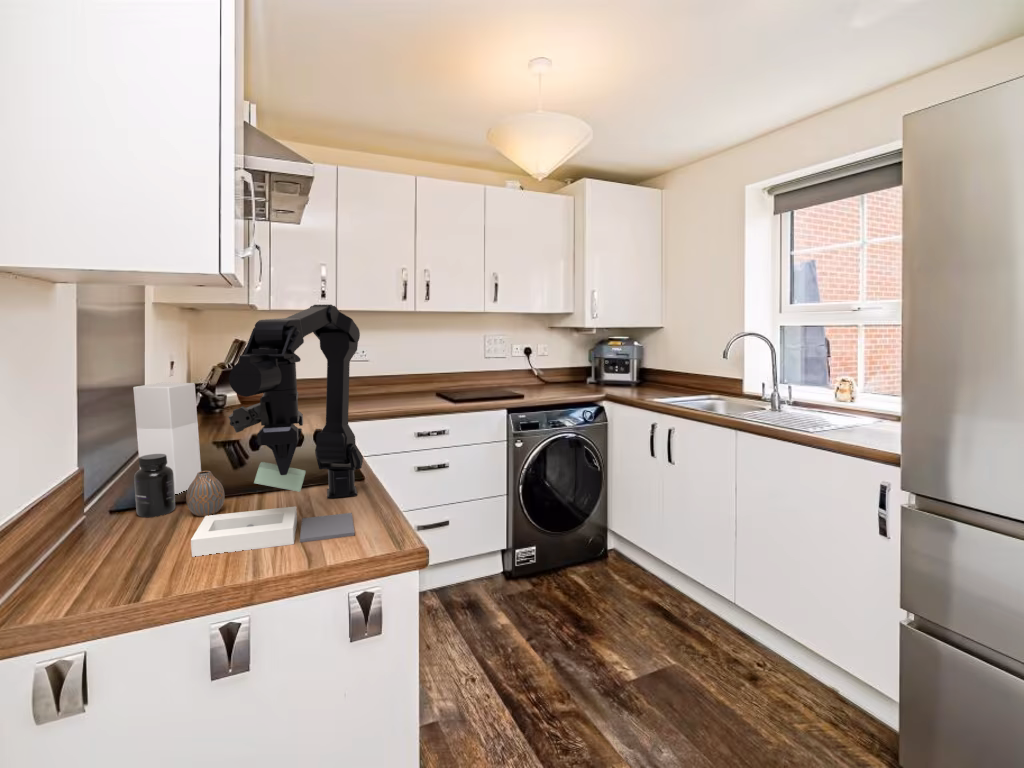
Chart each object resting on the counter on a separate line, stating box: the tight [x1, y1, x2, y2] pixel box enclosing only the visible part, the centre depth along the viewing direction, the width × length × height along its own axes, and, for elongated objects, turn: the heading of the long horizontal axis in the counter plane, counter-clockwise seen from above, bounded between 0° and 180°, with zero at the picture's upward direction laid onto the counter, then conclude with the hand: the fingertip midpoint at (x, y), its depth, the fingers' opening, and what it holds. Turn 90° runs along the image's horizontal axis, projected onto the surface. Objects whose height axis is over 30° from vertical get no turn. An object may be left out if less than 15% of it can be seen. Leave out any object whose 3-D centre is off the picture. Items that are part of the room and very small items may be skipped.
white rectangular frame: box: [190, 505, 298, 558], centre depth 99 cm, size 12×16×3 cm
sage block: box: [253, 461, 306, 493], centre depth 100 cm, size 4×8×3 cm, turn 108°
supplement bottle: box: [133, 454, 176, 518], centre depth 112 cm, size 7×7×12 cm
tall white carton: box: [133, 382, 202, 495], centre depth 127 cm, size 9×9×25 cm
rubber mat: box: [299, 512, 355, 543], centre depth 104 cm, size 11×10×1 cm
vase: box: [185, 470, 225, 517], centre depth 111 cm, size 7×7×9 cm
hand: (284, 471), depth 100 cm, fingers closed on sage block, 4 cm apart
